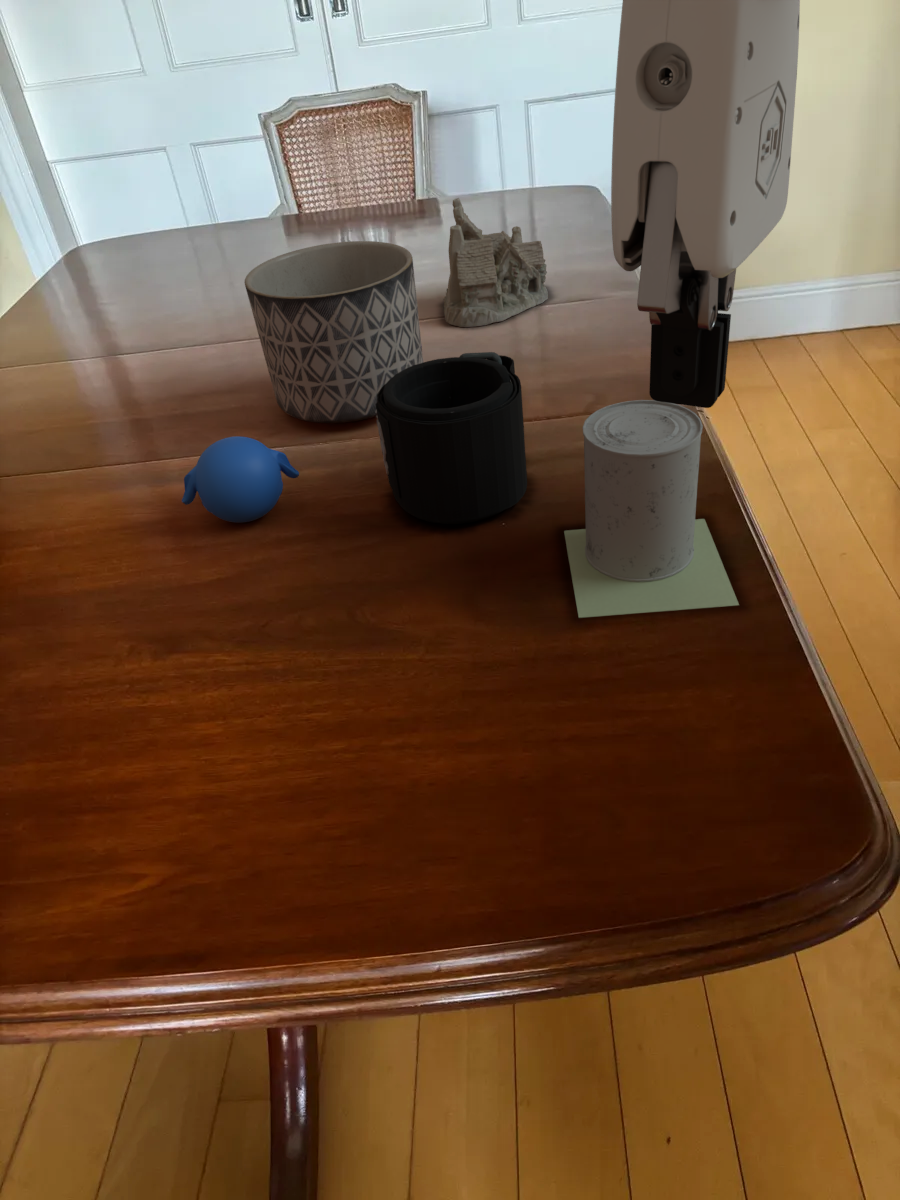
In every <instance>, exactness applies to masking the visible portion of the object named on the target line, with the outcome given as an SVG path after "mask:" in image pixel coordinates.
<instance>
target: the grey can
mask: <svg viewBox="0 0 900 1200" xmlns="http://www.w3.org/2000/svg"><path fill="white" fill-rule="evenodd" d="M583 422H584V423H583V425H582V436H583V458H584V459H583V460H584V461H583V462H584V467H583V468H584V505H585V506H584V511H585V512H584V513H585V529H586V546H585V555H586V558H587V560H588V562H589V563H590V564H591V565H592V566H593V567H594V568H595V569H596V570H597V571H599V572H601V573H602V574H604V575H607V576H609V577H612V578H614V579H619V580H623V581H631V582H651V581H656V580H662V579H665V578H668V577H671V576H674V575H675V574H677V573H679V572H681V571H682V570H683V569H685V568H686V567H687V566H688V565H689V563H690V562H691V560H692V558H693V554H694V546H693V543H694V528H695V520H696V511H697V499H698V486H699V485H698V483H699V470H700V455H701V442H702V441H701V440H702V439H701V438H702V434H703V429H704V428H703V427H704V425H703V422H702V419H701V418H700V417H699V416H698V414H697V413H696V412H695V411H693V410H692V409H690V408H688V407H685V406H684V405H681V404H674V403H667V402H659V401H655V400H653V399H638V400H637V399H636V400H627V401H620V402H615V403H613V404H609V405H606V406H604V407H602V408H601V407H600V408H599V409H596V410H595V411H594V412H593V413H591V414H590V415H589V416H588V417H587V418H586V419H585V420H584V421H583Z"/></svg>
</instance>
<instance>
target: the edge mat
mask: <svg viewBox="0 0 900 1200" xmlns="http://www.w3.org/2000/svg"><path fill="white" fill-rule="evenodd" d="M563 533H564V540H565V544H566V545H565V546H566V552H567V557H568V564H569V569H570V575H571V580H572V582H571V583H572V586H573V593H574V599H575V604H576V611H577V616H578V619H583V618H585V619H586V618H596V617H608V616H621V615H622V616H624V615H635V614H648V613H649V614H650V613H659V612H660V613H661V612H673V611H674V612H675V611H686V610H687V611H688V610H699V609H712V608H721V607H722V608H723V607H738V606H740V604H739V601H738V599H737V596H736V594H735V591H734V589H733V586H732V583H731V580H730V579H729V576H728V574H727V571H726V569H725V567H724V564H723V561H722V559H721V556H720V553H719V551H718V549H717V547H716V544H715V542H714V539H713V536H712V534H711V532H710V529H709V527H708V524H707V522H706V519H705V518H698V519H696V518H695V528H694V543H693V546H694V554H693V558H692V560H691V562H690V563H689V565H688V566H687V567H686V568H685V569H683V570H682V571H681V572H679V573H677V574H675V575H674V576H671V577H668V578H665V579H662V580H656V581H651V582H631V581H623V580H619V579H614V578H612V577H609V576H607V575H604V574H602V573H601V572H599V571H597V570H596V569H595V568H594V567H593V566H592V565H591V564H590V563H589V562H588V560H587V558H586V555H585V546H586V528H581V529H569V530H567V529H566V530H563Z"/></svg>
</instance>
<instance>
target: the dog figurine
mask: <svg viewBox="0 0 900 1200" xmlns="http://www.w3.org/2000/svg"><path fill="white" fill-rule="evenodd" d="M282 473H283V474H284V475H285V476H286V477H288V478H290V479H299V476H300V472H299V470H297V469H296V468H295V467H294V466H293V465H292V464H291V462H290V461H289V458H288V456H287V455H286V454H285V453H284V452H282V451H280V450H276V449H273V448H270V447H267V445H265V444H264V443H262V442H261V441H259V440H257V439H255V438H252V437H248V436H242V435H241V436H238V435H237V436H236V435H235V436H229V437H228V436H227V437H224V438H221V439H219V440H216V441H215V442H213V443H212V444H210V445H209V446H208V447H206V448H205V449H204V451H202V453H201V455H199V458H198V459H197V461H196V464H195V466H194V467H193V468H192V469H190V470H189V471H188V472H187V474H185V476H184V477H183V483H184V492H183V496H182V498H181V503H182V504H184V505H185V506H188V505H191V504H192V503H193V502H194V501H195V499H196V496H197V493H198V497H199V498H200V501H201V504H202V506H203V508H205V510H206V511H207V512H208V513H211V514H212V515H213V516H214V517H216V518H218V519H220V520H222V521H225V522H229V523H235V524H236V523H237V524H238V523H239V524H242V523H249V522H254V521H256V520H259V519H260V518H263V517H264V516H266V515H267V514H268V513H270V512H271V511H272V510H273V509H274V507H276V505H277V503H278V501H279V499H280V497H281V495H282V494H283V489H284V483H283V477H282Z"/></svg>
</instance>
